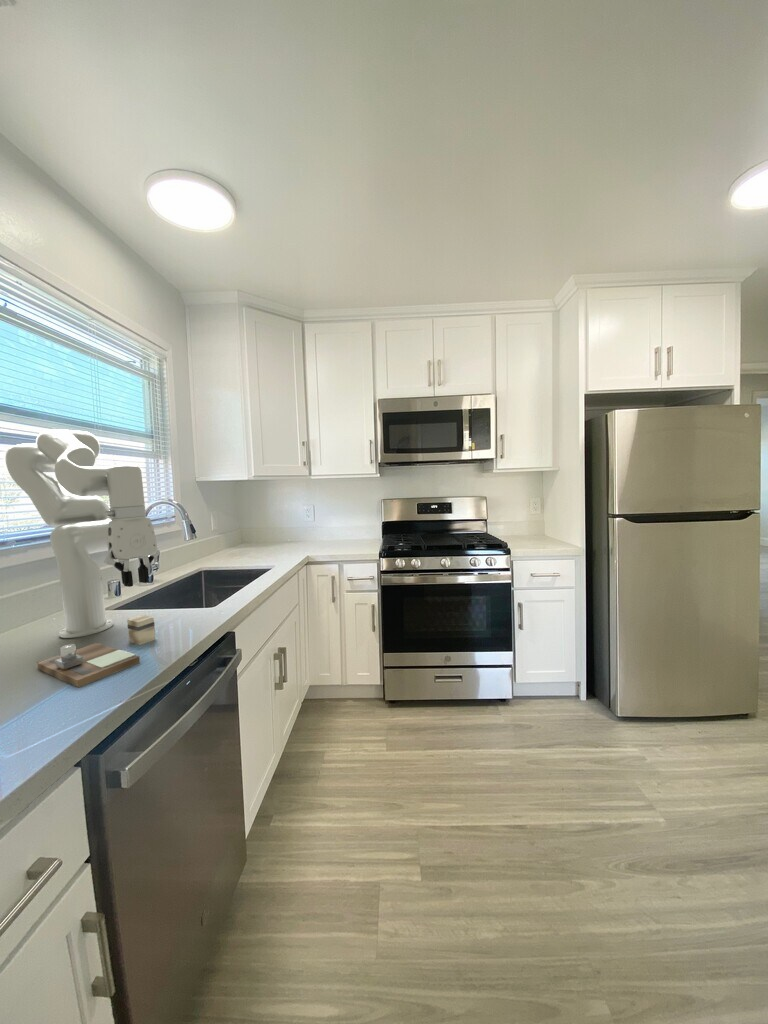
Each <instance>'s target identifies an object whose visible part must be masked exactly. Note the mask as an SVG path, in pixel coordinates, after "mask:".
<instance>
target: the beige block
mask: <svg viewBox="0 0 768 1024" xmlns="http://www.w3.org/2000/svg"><path fill="white" fill-rule="evenodd" d="M154 618H155V617H154V616H149V615H144V614H142V615H138V616H134V617H133V618H129V619H126V621H127V630H128V631H127V632H128V638H129V639H128V640H129V643H132V644H135V645H139V646H142V645H144V644H147V643H150V642H152V641H155V640H156V629H155V626H156V625H155V621H154Z"/></svg>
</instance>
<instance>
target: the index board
mask: <svg viewBox="0 0 768 1024" xmlns="http://www.w3.org/2000/svg"><path fill="white" fill-rule="evenodd" d="M117 650H119V649H118V648H114V647H111V646H107V645H106V644H105V645H104V644H102V643H98V642H95V643H92V644H89V645H86V646H83V647H80V648H77V649H76V654H78V655H80V656H83V661H84V663H81V664H79V665H76V666H73V667H70V668H67V669H65V670H64V669H61V668H59V667H57V666H56V662H55V660H57V659H60V658H61V654H59V655H56V656H53V657H49V658H47V659H44V660H41V661H38V662H36V666H37V669H38V670H39V671H41V672H43V673H45V674H48V675H50V676H52V677H55V678H56V679H59V680H61V681H63V682H65V683H68V684H69V685H71V686H74V687H77V688H81V687H83V686H86V685H88V684H91V683H93V682H95V681H98V680H100V679H103V678H105V677H108V676H110V675H114V674H115V673H118V672H120V671H123V670H125V669H128V668H130V667H133V666H135V665H138V664H140V663H141V660H140V656H139V655H137V654H136V655H135V656H132V657H130V658H127V659H125V660H122V661H119V662H117V663H114V664H112V665H109V666H106V667H104V668H99V667H97V666H94V665H91V664H89V663H86V661H89V660H92V659H95V658H98V657H100V656H103V655H106V654H109V653H111V652H114V651H117Z"/></svg>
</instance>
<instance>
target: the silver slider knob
mask: <svg viewBox="0 0 768 1024" xmlns="http://www.w3.org/2000/svg"><path fill="white" fill-rule="evenodd" d="M76 648H77V647H76V643H68V644H65V645H62V646H60V647H59V650H60V655H61V658H60V659H57V660H55V662H56V666H57V667H59V668H61V669H64V670H65V669H67V668H70V667H73V666H76V665H79V664H81V663H84V661H83V656H80V655H78V654H76V650H77V649H76Z"/></svg>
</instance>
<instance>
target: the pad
mask: <svg viewBox="0 0 768 1024" xmlns="http://www.w3.org/2000/svg"><path fill="white" fill-rule="evenodd" d="M135 655H137V654H136V653H133V652H129V651H126V650H123V649H118V650H117V651H114V652H111V653H109V654H106V655H103V656H100V657H98V658H95V659H92V660H89V661H86V663H89V664H91V665H94V666H97V667H99V668H104V667H106V666H109V665H112V664H114V663H117V662H119V661H122V660H125V659H127V658H130V657H132V656H135Z"/></svg>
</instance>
